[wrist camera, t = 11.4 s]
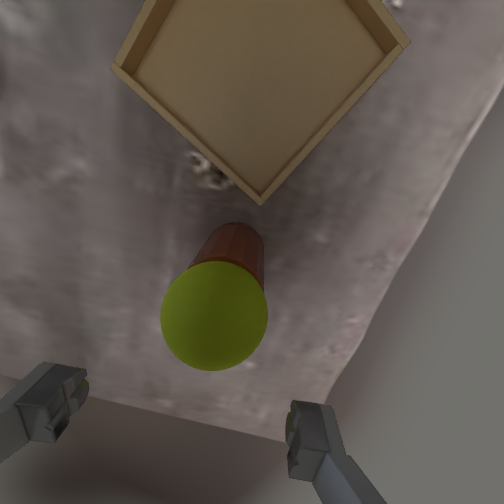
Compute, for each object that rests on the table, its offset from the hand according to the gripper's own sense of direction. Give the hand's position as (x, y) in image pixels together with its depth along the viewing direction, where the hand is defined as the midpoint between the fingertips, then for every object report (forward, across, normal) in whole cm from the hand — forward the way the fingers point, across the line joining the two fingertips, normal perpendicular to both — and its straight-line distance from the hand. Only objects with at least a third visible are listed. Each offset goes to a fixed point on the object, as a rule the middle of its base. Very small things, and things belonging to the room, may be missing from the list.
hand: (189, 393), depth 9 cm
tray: (+17, 0, -16) cm, 23 cm away
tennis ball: (+6, 0, 0) cm, 6 cm away
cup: (+16, 0, 0) cm, 17 cm away
